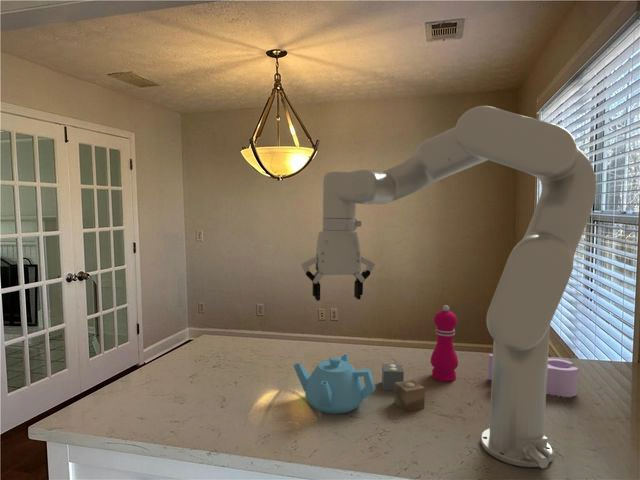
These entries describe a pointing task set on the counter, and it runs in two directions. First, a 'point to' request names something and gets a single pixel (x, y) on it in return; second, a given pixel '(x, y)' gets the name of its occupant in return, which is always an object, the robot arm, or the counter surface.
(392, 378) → the charcoal block
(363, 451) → the counter surface
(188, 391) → the counter surface
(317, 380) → the teapot
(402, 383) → the walnut block
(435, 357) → the pepper mill
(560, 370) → the clip
